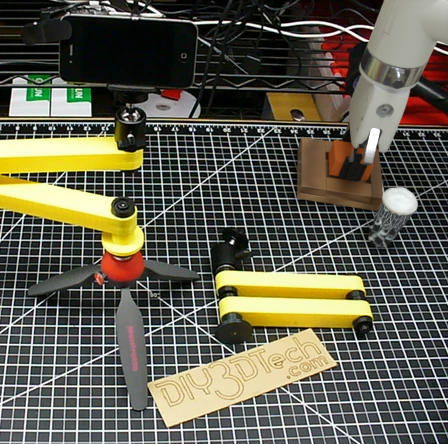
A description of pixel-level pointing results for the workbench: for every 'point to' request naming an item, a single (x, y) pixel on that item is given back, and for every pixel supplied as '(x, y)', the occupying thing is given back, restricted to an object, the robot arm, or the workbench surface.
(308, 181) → the wooden tray
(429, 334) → the workbench surface
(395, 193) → the milkshake
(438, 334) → the workbench surface
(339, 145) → the orange block
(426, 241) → the workbench surface
